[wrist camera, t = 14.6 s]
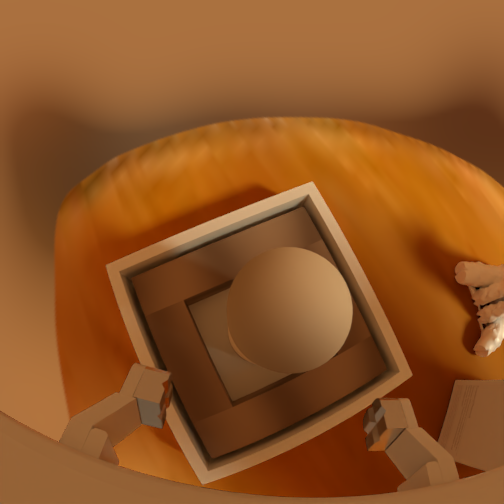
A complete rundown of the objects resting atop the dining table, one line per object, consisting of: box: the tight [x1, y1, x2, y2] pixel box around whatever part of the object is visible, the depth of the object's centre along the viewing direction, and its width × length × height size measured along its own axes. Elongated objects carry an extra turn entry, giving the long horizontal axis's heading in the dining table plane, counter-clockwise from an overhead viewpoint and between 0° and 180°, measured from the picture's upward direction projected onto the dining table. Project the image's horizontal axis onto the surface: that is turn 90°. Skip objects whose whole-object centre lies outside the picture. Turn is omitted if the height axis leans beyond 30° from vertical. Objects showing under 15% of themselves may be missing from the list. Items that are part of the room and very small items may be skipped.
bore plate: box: [131, 207, 387, 459], centre depth 21 cm, size 13×13×2 cm
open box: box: [105, 181, 413, 485], centre depth 21 cm, size 16×16×4 cm
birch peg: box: [227, 247, 353, 374], centre depth 16 cm, size 4×4×12 cm
